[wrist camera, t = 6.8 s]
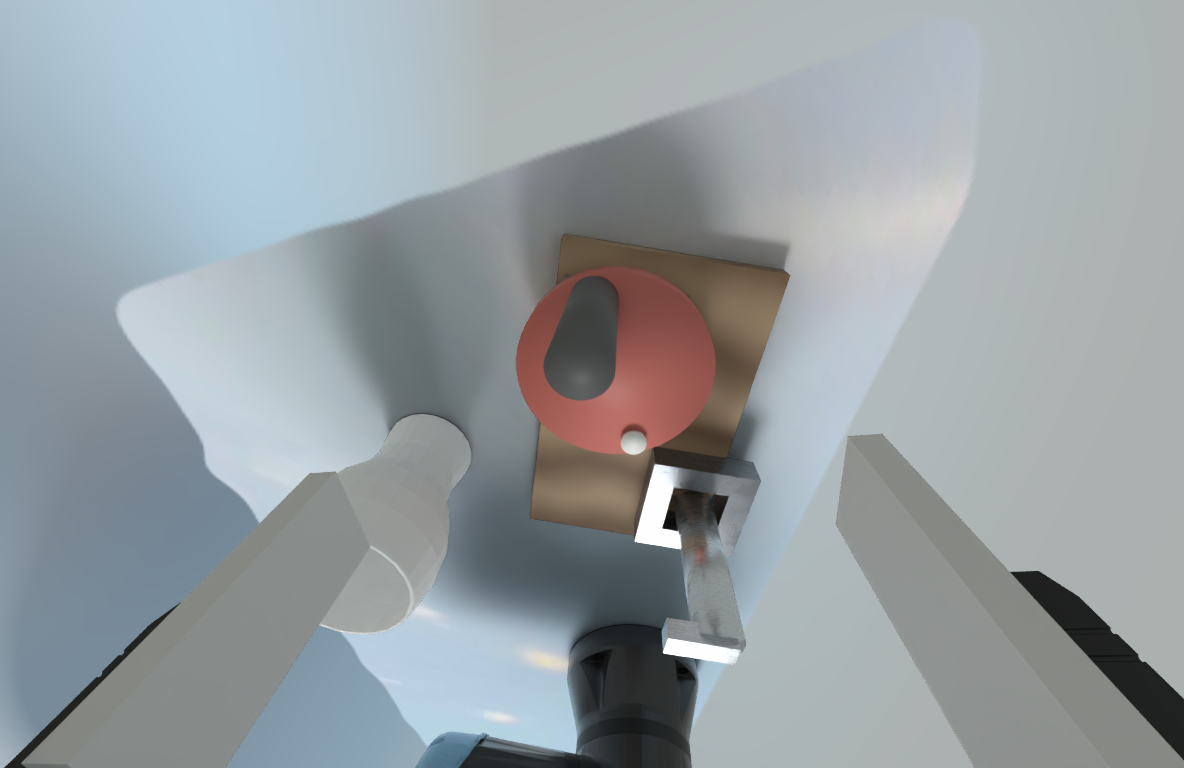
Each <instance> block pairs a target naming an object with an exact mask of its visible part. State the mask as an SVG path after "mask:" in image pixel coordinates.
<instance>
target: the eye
mask: <svg viewBox="0 0 1184 768" xmlns="http://www.w3.org/2000/svg"><path fill="white" fill-rule="evenodd" d="M760 482H761V480H760V478H759V475H758V473H757V470H756V468H755V465H754V463H753V462H748V461H742V460H736V459H730V458H724V457H717V456H711V455H705V454H699V453H693V452H687V451H680V450H674V449H668V448H662V447H653V449H652V453H651V457H650V461H649V465H648V469H647V473H646V476H645V480H644V484H643V488H642V492H641V496H640V500H639V504H638V508H637V512H636V516H635V520H634V542H639V543H645V544H651V545H658V546H664V547H670V548H676V549H680V545H679V538H678V530H677V523H676V515H675V511H671V510H667V509H668V506H669V502H670V499H671V495H672V492H673V489H674V488H681V489H687V490H693V491H699V492H705V493H712V494H717V497H716V500H715V502H714V505H713V509H714V513H715V517H716V521H717V525H718V530H719V534H720V538H721V542H722V546H723V550H724V554H725V556H726V557H731V554H732V552H733V549H734V547H735V544H736V542H737V539H738V537H739V534H740V532H741V530H742V527H743V525H744V522H745V520H746V517H747V515H748V512H749V510H750V507H751V505H752V502H753V500H754V497H755V495H756V492H757V490H758V487H759V485H760Z"/></svg>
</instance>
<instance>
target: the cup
mask: <svg viewBox="0 0 1184 768" xmlns="http://www.w3.org/2000/svg"><path fill="white" fill-rule="evenodd" d="M471 454H472V452H471V449H470V445H469V442H468V441H467V439H466V437H465V436H464V434H463V433H462V432H461V431H460V430H459V429H458V428H457V427H456V426H454V425H453V424H451V423H450V422H448V421H447V420H445V419H442V418H440V417H437V416H433V415H427V414H416V415H411V416H408V417H405V418H403V419H401V420H400V421H399V422H397V423H396V424H395V426H394V427H393V428H392V430H391V431H390V433H389V435H388V436H387V438H386V440H385V442H384V444H383V446H382V448H381V450H380V452H379V453H378V454H376V455H375V456H374V457H373V458H372V459H371V460H369V461H367V462H363V463H360V464H357V465H354V466H350V467H347V468H345V469H344V470H342V471H340V472H338V473H337V476H338V478H339V480H340V482H341V484H342V486H343V489H344V491H345V493H346V495H347V497H348V499H349V502H350V504H351V506H352V508H353V510H354V512H355V514H356V517H357V519H358V521H359V523H360V525H361V527H362V530H363V532H364V534H365V536H366V538H367V540H368V542H369V545H370V548H369V550H368V551H367V553H366V554H365V556H364V557H363V559H362V560H361V562H360V563H359V565H358V566H357V568H356V569H355V571H354V572H353V574H352V576H351V577H350V579H349V580H348V582H347V583H346V585H345V586H344V588H343V589H342V591H341V592H340V594H339V595H338V597H337V598H336V600H335V602H334V603H333V605H332V606H331V608H330V609H329V611H328V612H327V614H326V615H325V617H324V618H323V620H322V621H321V623H320V624H319V625H320V626H323V627H327V628H330V629H332V630H336V631H339V632H345V633H352V634H375V633H380V632H385V631H389V630H391V629H393V628H395V627H397V626H399V625H400V624H402V623H403V622H404V621H405V620H406V619H407V618H408V617H409V616H410V615H411V613H412V612H413V611H414V610H415V608H416V607H417V606H418V604H419V603H420V602H421V601H422V599H423V598H424V597H425V595H426V594H427V593H428V592H429V590H430V589H431V588H432V586H433V584H434V582H435V579H436V577H437V575H438V573H439V570H440V568H441V566H442V564H443V561H444V559H445V556H446V554H447V549H448V538H449V520H450V516H449V511H448V505H447V501H448V498H449V495H450V492H451V490H452V489H453V488H454V487H455V485H456V484H457V483H458V482H459V481H460V480H461V478H462V477H463V476H464V474H465V473H466V472H467V470H468V468H469V466H470V463H471Z"/></svg>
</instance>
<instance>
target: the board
mask: <svg viewBox="0 0 1184 768" xmlns="http://www.w3.org/2000/svg"><path fill="white" fill-rule="evenodd" d="M602 266H630V267H635V268H640V269H644V270H647V271H650V272H653V273H655V274H658V275H659V276H661V277H663V278H665V279H667V280H669V281H670V282H672V283H673V284H675V285H676V286H677V287H679V288H680V289H681V290H682V291H683V292H684V293H685V294H686V295H687V296H688V297H689V298H690V299H691V301H692V302H693V303H694V304H695V306H696V307H697V309H698V311H699V312H700V314H701V316H702V318H703V320H704V322H705V324H706V326H707V328H708V331H709V333H710V336H711V338H712V342H713V346H714V350H715V361H716V366H715V377H714V382H713V387H712V390H711V392H710V395H709V398H708V400H707V402H706V404H705V405H704V407H703V409H702V410H701V412H700V413H699V415H698V416H697V417H696V419H695V420H694V421H693V422H692V423H691V424H690V425H689V426H688V427H687V428H686V429H685V430H683V431H682V432H681V433H680V434H678V435H677V436H675V437H674V438H672V439H671V440H669V441H667V442H665V443H663V444H661V445H659V446H656V447H662V448H668V449H674V450H680V451H687V452H693V453H699V454H705V455H711V456H717V457H724V458H727V455H728V452H729V449H730V447H731V444H732V441H733V438H734V435H735V432H736V429H737V426H738V424H739V421H740V418H741V415H742V412H743V409H744V406H745V403H746V401H747V398H748V395H749V392H750V389H751V386H752V383H753V381H754V378H755V375H756V372H757V369H758V366H759V363H760V360H761V358H762V355H763V352H764V349H765V346H766V343H767V340H768V338H769V335H770V332H771V329H772V326H773V323H774V320H775V317H776V315H777V312H778V309H779V306H780V303H781V300H782V297H783V295H784V292H785V289H786V286H787V283H788V280H789V277H790V275H789V274H788V273H787V272H785V271H784V270H779V269H773V268H767V267H761V266H755V265H749V264H743V263H737V262H731V261H725V260H719V259H713V258H707V257H701V256H695V255H689V254H683V253H677V252H671V251H665V250H659V249H653V248H647V247H640V246H634V245H628V244H622V243H616V242H610V241H604V240H598V239H592V238H586V237H580V236H574V235H568V234H564V235H563V236H562V240H561V248H560V257H559V266H558V275H557V283H556V285H557V284H559V283H560V282H562V281H563V280H565V279H567V278H569V277H571V276H573V275H575V274H577V273H579V272H582V271H585V270H588V269H592V268H597V267H602ZM652 449H653V448H651V449H648V450H644V451H643V452H641V453H639V454H635V455H632V454H628V453H627V454H607V453H599V452H594V451H589V450H586V449H583V448H580V447H577V446H575V445H572V444H570V443H568V442H566V441H564V440H563V439H561V438H559V437H558V436H556V435H555V434H554V433H552V432H551V431H550V430H548V429H547V428H546V427H545V426H544V425H543V424H542V423H541V424H540V433H539V442H538V450H537V459H536V468H535V477H534V485H533V494H532V503H531V512H530V519H536V520H542V521H548V522H555V523H561V524H567V525H573V526H579V527H586V528H592V529H598V530H604V531H610V532H617V533H623V534H629V535H634V520H635V516H636V512H637V508H638V504H639V500H640V496H641V492H642V488H643V484H644V480H645V476H646V473H647V469H648V465H649V461H650V457H651V453H652ZM713 495H714V494H712V493H710V497H711V501H712V498H713ZM667 510H671V511H675V508H674V501H673V492H672V495H671V499H670V502H669V506H668V509H667Z"/></svg>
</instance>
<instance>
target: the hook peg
mask: <svg viewBox="0 0 1184 768" xmlns="http://www.w3.org/2000/svg"><path fill="white" fill-rule="evenodd" d="M673 501H674V508H675V515H676V523H677V530H678V538H679V545H680V552H681V560H682V567H683V575H684V582H685V589H686V597H687V604H688V612H689V619H690V621H686V620H680V619H673V618H667V617H666V620H665V623H664V626H663V629H662V644H663V653H666V654H672V655H678V656H685V657H691V658H697V659H703V660H710V661H716V662H722V663H728V664H735V662H736V660H737V658H738V656H739V654H740V653H741V652H742V651H743V650H744V648H745V646H746V640H745V636H744V632H743V628H742V624H741V620H740V615H739V611H738V607H737V603H736V599H735V595H734V591H733V587H732V583H731V579H730V575H729V570H728V566H727V562H726V558H725V554H724V550H723V546H722V542H721V538H720V534H719V530H718V525H717V521H716V517H715V513H714V509H713V505H712V501H711V497H710V493H705V492H699V491H693V490H687V489H681V488H674V489H673Z"/></svg>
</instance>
